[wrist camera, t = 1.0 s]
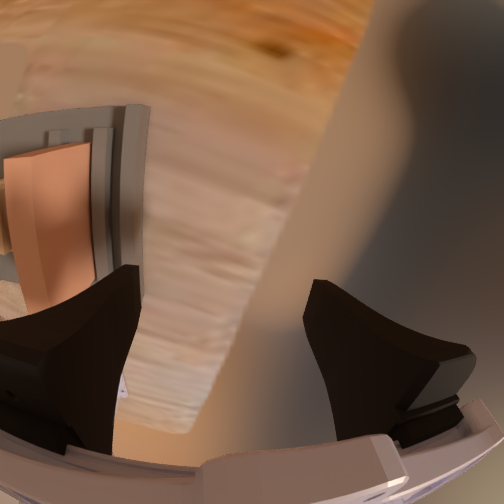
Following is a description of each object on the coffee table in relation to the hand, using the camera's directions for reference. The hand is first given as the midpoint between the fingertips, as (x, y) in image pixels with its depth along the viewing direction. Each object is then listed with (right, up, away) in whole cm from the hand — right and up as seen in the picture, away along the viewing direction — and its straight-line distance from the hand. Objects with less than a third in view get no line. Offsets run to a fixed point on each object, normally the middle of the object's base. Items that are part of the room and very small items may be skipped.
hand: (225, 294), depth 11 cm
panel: (-11, +5, +7) cm, 14 cm away
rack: (-15, +6, +7) cm, 18 cm away
